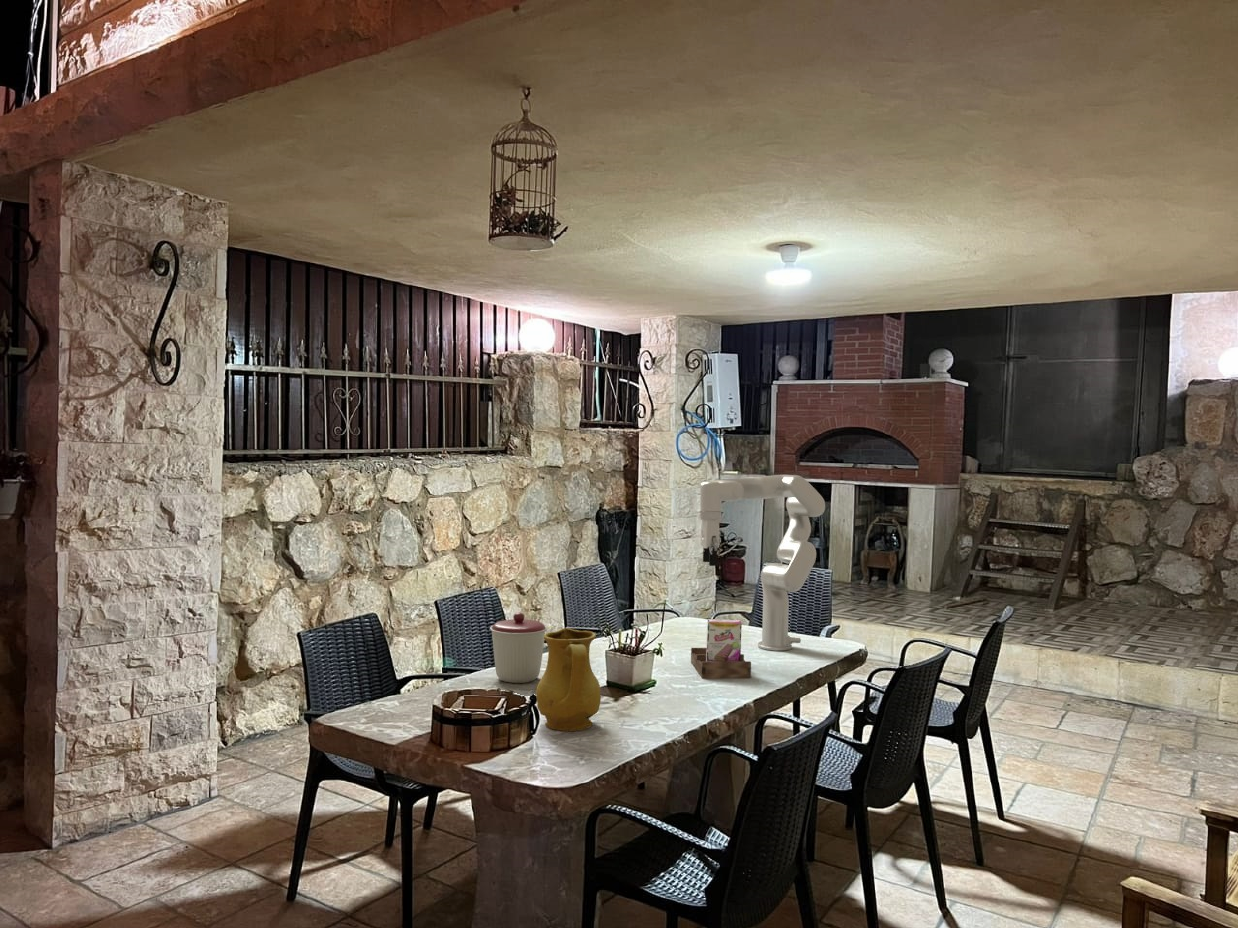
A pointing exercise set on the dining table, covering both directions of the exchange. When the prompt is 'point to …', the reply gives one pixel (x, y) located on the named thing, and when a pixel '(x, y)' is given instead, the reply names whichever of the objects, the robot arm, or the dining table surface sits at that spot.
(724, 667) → the rack
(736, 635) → the candy bar box
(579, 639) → the pitcher
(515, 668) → the canister
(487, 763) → the dining table surface
